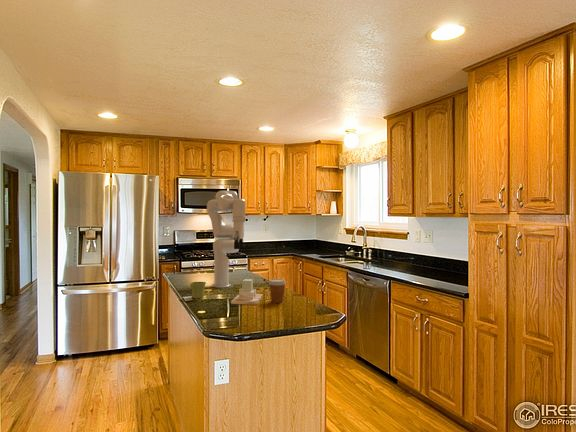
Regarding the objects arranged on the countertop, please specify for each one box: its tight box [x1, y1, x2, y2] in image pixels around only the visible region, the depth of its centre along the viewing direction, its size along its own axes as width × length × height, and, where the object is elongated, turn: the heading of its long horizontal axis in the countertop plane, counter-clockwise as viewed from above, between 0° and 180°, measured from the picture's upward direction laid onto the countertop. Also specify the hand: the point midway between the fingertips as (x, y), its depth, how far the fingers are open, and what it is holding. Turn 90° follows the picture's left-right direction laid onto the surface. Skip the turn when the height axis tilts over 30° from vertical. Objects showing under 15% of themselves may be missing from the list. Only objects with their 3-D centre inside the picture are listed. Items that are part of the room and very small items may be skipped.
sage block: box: [241, 278, 254, 292], centre depth 230 cm, size 5×5×6 cm
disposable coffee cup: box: [268, 278, 287, 304], centre depth 227 cm, size 10×10×12 cm
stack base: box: [230, 288, 264, 306], centre depth 230 cm, size 20×14×6 cm
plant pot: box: [189, 281, 207, 299], centre depth 236 cm, size 9×9×9 cm
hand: (238, 248), depth 242 cm, fingers open, 9 cm apart
